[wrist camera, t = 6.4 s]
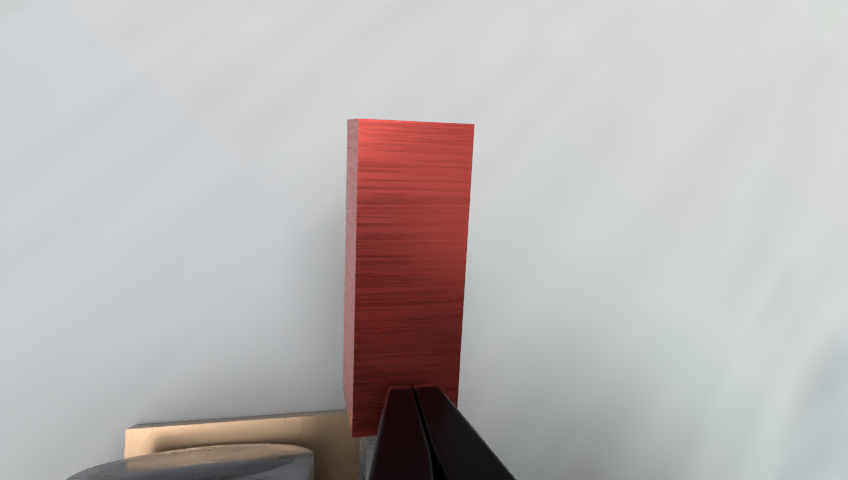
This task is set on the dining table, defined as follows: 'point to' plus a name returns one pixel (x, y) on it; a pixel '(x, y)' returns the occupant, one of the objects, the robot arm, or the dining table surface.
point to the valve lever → (403, 263)
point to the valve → (238, 450)
